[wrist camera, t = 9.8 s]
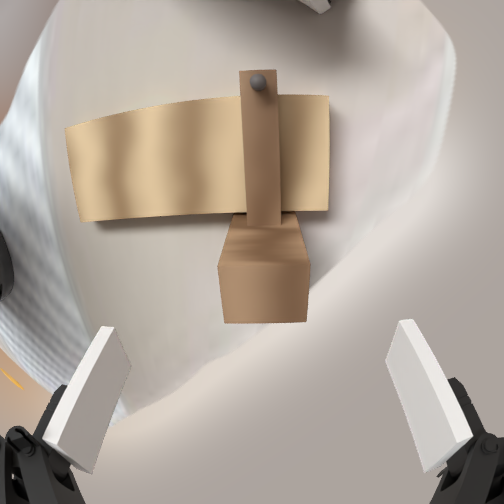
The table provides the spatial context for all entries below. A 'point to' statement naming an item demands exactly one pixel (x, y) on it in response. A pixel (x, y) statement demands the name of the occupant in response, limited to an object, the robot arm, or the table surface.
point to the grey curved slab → (317, 5)
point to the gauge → (263, 223)
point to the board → (193, 159)
